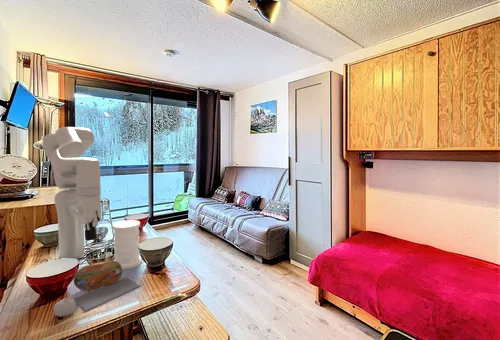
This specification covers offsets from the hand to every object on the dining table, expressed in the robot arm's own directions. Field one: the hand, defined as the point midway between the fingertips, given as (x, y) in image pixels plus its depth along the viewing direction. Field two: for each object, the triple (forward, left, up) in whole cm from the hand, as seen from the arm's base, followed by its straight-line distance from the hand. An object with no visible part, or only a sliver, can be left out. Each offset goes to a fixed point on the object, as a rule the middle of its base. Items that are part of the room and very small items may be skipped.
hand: (90, 239), depth 93 cm
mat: (+13, 0, -16) cm, 21 cm away
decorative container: (-3, +16, -17) cm, 23 cm away
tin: (+7, 0, -16) cm, 18 cm away
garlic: (+15, -13, -17) cm, 26 cm away
